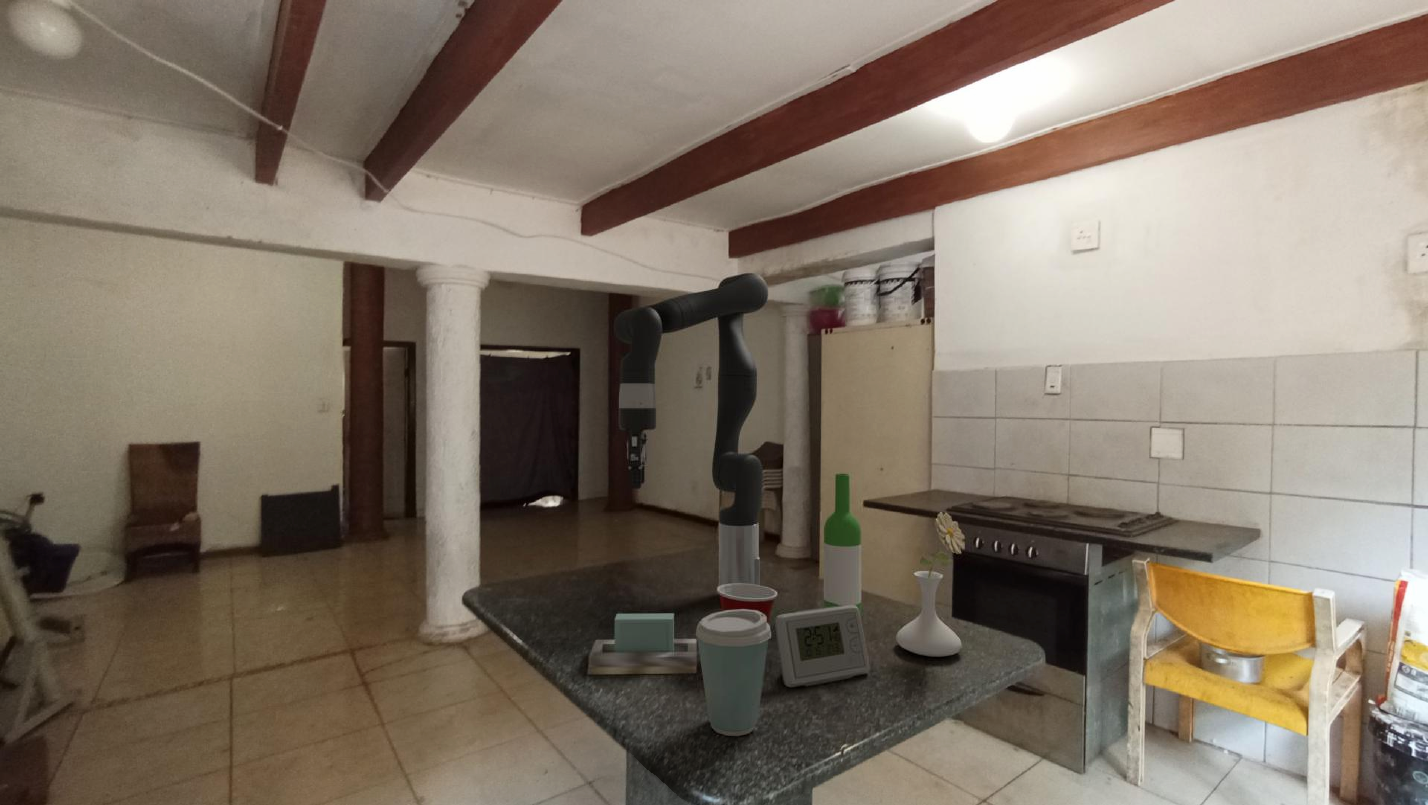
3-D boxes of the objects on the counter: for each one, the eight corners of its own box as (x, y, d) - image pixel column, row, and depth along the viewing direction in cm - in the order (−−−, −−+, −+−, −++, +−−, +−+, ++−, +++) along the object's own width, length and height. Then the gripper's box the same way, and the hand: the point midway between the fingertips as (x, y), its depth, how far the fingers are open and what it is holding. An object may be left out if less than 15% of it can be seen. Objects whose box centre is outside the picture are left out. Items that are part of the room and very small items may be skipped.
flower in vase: (924, 667, 108) (924, 520, 108) (883, 643, 118) (883, 510, 119) (983, 656, 113) (983, 515, 113) (938, 634, 123) (938, 506, 123)
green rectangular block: (673, 653, 112) (673, 613, 112) (673, 660, 108) (673, 619, 108) (616, 653, 111) (616, 613, 111) (614, 661, 108) (614, 620, 108)
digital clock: (782, 692, 98) (782, 623, 99) (767, 668, 107) (767, 605, 107) (879, 684, 101) (879, 617, 102) (857, 661, 110) (857, 600, 110)
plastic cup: (790, 660, 111) (790, 591, 111) (738, 673, 105) (738, 601, 105) (754, 640, 120) (754, 577, 120) (705, 652, 114) (705, 585, 114)
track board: (696, 650, 115) (696, 636, 115) (696, 673, 105) (696, 658, 105) (596, 651, 115) (596, 637, 115) (587, 674, 105) (587, 659, 105)
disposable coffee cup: (701, 748, 82) (701, 632, 82) (690, 709, 93) (690, 606, 93) (780, 741, 84) (780, 627, 84) (760, 703, 94) (760, 602, 95)
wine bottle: (835, 607, 140) (835, 471, 140) (867, 615, 134) (867, 474, 135) (816, 616, 134) (816, 474, 134) (849, 624, 129) (849, 477, 129)
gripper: (653, 406, 122) (653, 490, 122) (658, 406, 136) (657, 481, 136) (614, 406, 122) (614, 490, 122) (623, 406, 136) (622, 481, 136)
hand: (637, 485), depth 129 cm, fingers open, 8 cm apart
